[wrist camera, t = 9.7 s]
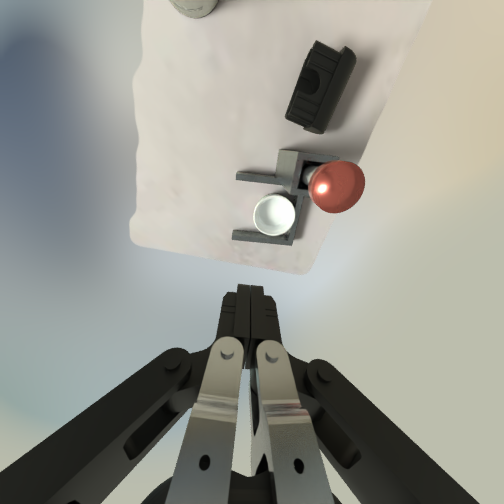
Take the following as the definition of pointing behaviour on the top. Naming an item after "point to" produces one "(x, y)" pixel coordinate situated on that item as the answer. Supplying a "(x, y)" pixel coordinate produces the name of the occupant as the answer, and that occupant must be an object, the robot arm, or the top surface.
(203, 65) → the top surface
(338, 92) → the end cap
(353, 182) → the ram plunger
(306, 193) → the press
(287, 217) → the ramekin
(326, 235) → the top surface
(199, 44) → the top surface
